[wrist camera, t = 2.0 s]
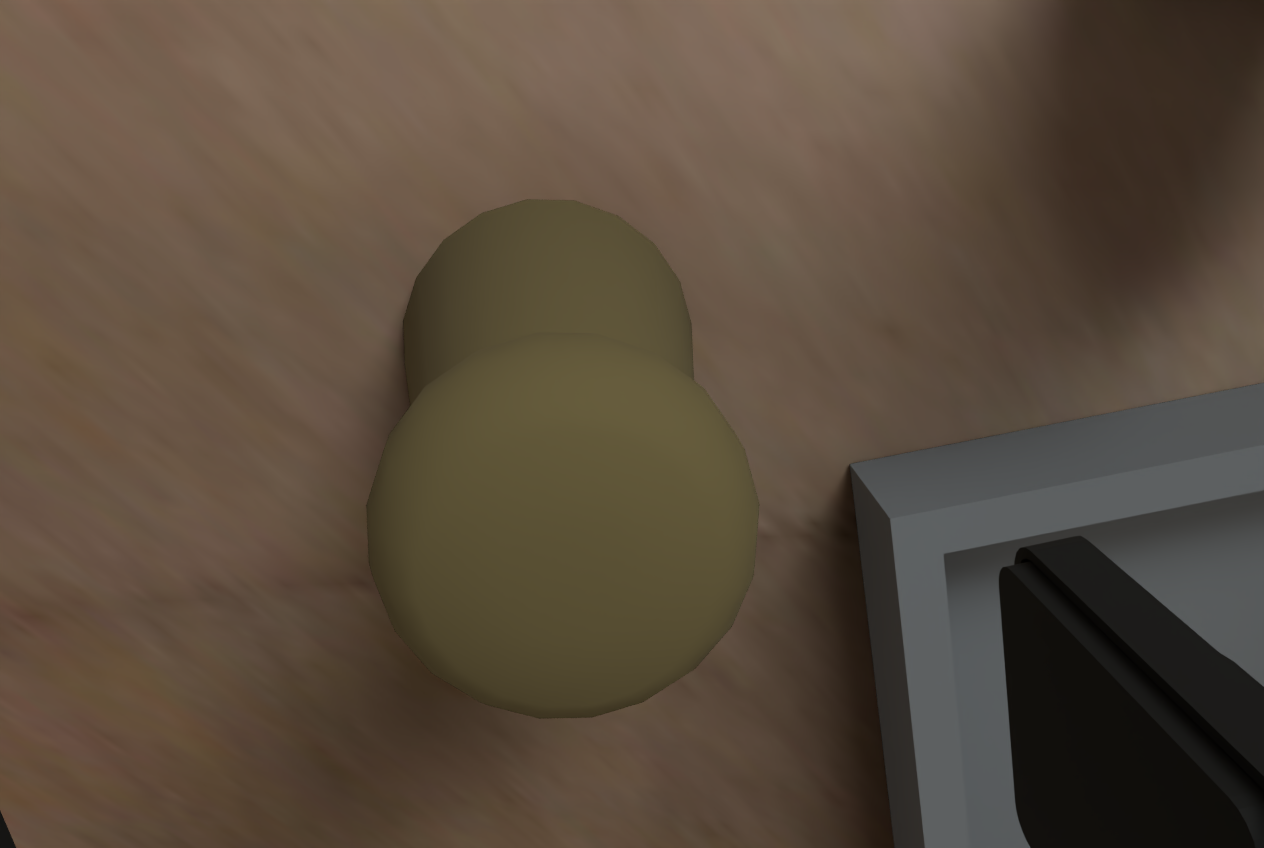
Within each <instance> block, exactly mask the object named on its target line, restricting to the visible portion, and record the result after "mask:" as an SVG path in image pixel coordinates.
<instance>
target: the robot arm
mask: <svg viewBox="0 0 1264 848" xmlns="http://www.w3.org/2000/svg"><path fill="white" fill-rule="evenodd" d="M999 595H1000V608H1001V622H1002V635H1003V648H1004V662H1005V675H1006V688H1007V701H1008V715H1009V728H1010V741H1011V755H1012V768H1013V781H1014V795H1015V805H1016V811H1017V816H1018V820H1019V823H1020V826H1021V829H1022V832H1023V834H1024V836H1025V839H1026V841H1027V842H1028V844H1029V846H1030V848H1264V687H1263V686H1262V685H1261V684H1260V683H1259V682H1258V681H1256V680H1255V679H1254V678H1253V677H1252V676H1250V675H1249V674H1248V673H1247V672H1246V671H1245V670H1243V669H1242V668H1241V667H1240V666H1239V665H1238V664H1236V663H1235V662H1234V661H1232V660H1231V659H1229V658H1227V657H1226V656H1224V655H1223V654H1221V653H1219V652H1218V651H1217V650H1216V649H1215V648H1213V647H1212V646H1211V645H1210V644H1209V643H1208V642H1206V641H1205V640H1204V639H1203V638H1202V637H1201V636H1199V635H1198V634H1197V633H1196V632H1195V631H1194V630H1192V629H1191V628H1190V627H1189V626H1188V625H1187V624H1185V623H1184V622H1183V621H1182V620H1181V619H1180V618H1178V617H1177V616H1176V615H1175V614H1174V613H1173V612H1171V611H1170V610H1169V609H1168V608H1167V607H1166V606H1164V605H1163V604H1162V603H1161V602H1160V601H1159V600H1157V599H1156V598H1155V597H1154V596H1153V595H1151V594H1150V593H1149V592H1148V591H1147V590H1146V589H1144V588H1143V587H1142V586H1141V585H1140V584H1139V583H1137V582H1136V581H1135V580H1134V579H1133V578H1132V577H1130V576H1129V575H1128V574H1127V573H1126V572H1125V571H1123V570H1122V569H1121V568H1120V567H1119V566H1118V565H1116V564H1115V563H1114V562H1113V561H1112V560H1111V559H1109V558H1108V557H1107V556H1106V555H1105V554H1104V553H1102V552H1101V551H1100V550H1099V549H1098V548H1097V547H1095V546H1094V545H1093V544H1092V543H1091V542H1090V541H1088V540H1087V539H1085V538H1084V537H1082V536H1073V537H1069V538H1064V539H1059V540H1054V541H1050V542H1045V543H1040V544H1035V545H1031V546H1026V547H1021V548H1019V550H1018V551H1017V552H1016V556H1015V560H1014V565H1011V566H1006V567H1002V569H1001V570H1000V573H999ZM0 848H16V846H15V844H14V842H13V839H12V837H11V835H10V832H9V830H8V828H7V825H6V823H5V821H4V818H3V816H2V814H1V811H0Z"/></svg>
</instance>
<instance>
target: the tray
mask: <svg viewBox="0 0 1264 848" xmlns="http://www.w3.org/2000/svg"><path fill="white" fill-rule="evenodd" d="M850 471H851V479H852V488H853V496H854V505H855V514H856V522H857V531H858V539H859V548H860V556H861V565H862V574H863V582H864V591H865V599H866V608H867V616H868V625H869V633H870V642H871V651H872V659H873V668H874V676H875V685H876V693H877V702H878V711H879V719H880V728H881V736H882V745H883V753H884V762H885V770H886V779H887V788H888V796H889V805H890V813H891V822H892V830H893V839H894V848H1030V846H1029V844H1028V842H1027V841H1026V839H1025V836H1024V834H1023V832H1022V829H1021V826H1020V823H1019V820H1018V816H1017V811H1016V805H1015V795H1014V781H1013V768H1012V755H1011V741H1010V728H1009V715H1008V701H1007V688H1006V675H1005V662H1004V648H1003V635H1002V622H1001V608H1000V595H999V573H1000V570H1001V569H1002V567H1006V566H1011V565H1014V560H1015V556H1016V552H1017V551H1018V550H1019V548H1021V547H1026V546H1031V545H1035V544H1040V543H1045V542H1050V541H1054V540H1059V539H1064V538H1069V537H1073V536H1082V537H1084V538H1085V539H1087V540H1088V541H1090V542H1091V543H1092V544H1093V545H1094V546H1095V547H1097V548H1098V549H1099V550H1100V551H1101V552H1102V553H1104V554H1105V555H1106V556H1107V557H1108V558H1109V559H1111V560H1112V561H1113V562H1114V563H1115V564H1116V565H1118V566H1119V567H1120V568H1121V569H1122V570H1123V571H1125V572H1126V573H1127V574H1128V575H1129V576H1130V577H1132V578H1133V579H1134V580H1135V581H1136V582H1137V583H1139V584H1140V585H1141V586H1142V587H1143V588H1144V589H1146V590H1147V591H1148V592H1149V593H1150V594H1151V595H1153V596H1154V597H1155V598H1156V599H1157V600H1159V601H1160V602H1161V603H1162V604H1163V605H1164V606H1166V607H1167V608H1168V609H1169V610H1170V611H1171V612H1173V613H1174V614H1175V615H1176V616H1177V617H1178V618H1180V619H1181V620H1182V621H1183V622H1184V623H1185V624H1187V625H1188V626H1189V627H1190V628H1191V629H1192V630H1194V631H1195V632H1196V633H1197V634H1198V635H1199V636H1201V637H1202V638H1203V639H1204V640H1205V641H1206V642H1208V643H1209V644H1210V645H1211V646H1212V647H1213V648H1215V649H1216V650H1217V651H1218V652H1219V653H1221V654H1223V655H1224V656H1226V657H1227V658H1229V659H1231V660H1232V661H1234V662H1235V663H1236V664H1238V665H1239V666H1240V667H1241V668H1242V669H1243V670H1245V671H1246V672H1247V673H1248V674H1249V675H1250V676H1252V677H1253V678H1254V679H1255V680H1256V681H1258V682H1259V683H1260V684H1261V685H1262V686H1263V687H1264V383H1260V384H1255V385H1250V386H1245V387H1240V388H1235V389H1230V390H1225V391H1220V392H1215V393H1210V394H1204V395H1199V396H1194V397H1189V398H1184V399H1179V400H1174V401H1169V402H1164V403H1159V404H1154V405H1148V406H1143V407H1138V408H1133V409H1128V410H1123V411H1118V412H1113V413H1108V414H1103V415H1097V416H1092V417H1087V418H1082V419H1077V420H1072V421H1067V422H1062V423H1057V424H1052V425H1047V426H1041V427H1036V428H1031V429H1026V430H1021V431H1016V432H1011V433H1006V434H1001V435H996V436H991V437H985V438H980V439H975V440H970V441H965V442H960V443H955V444H950V445H945V446H940V447H934V448H929V449H924V450H919V451H914V452H909V453H904V454H899V455H894V456H889V457H884V458H878V459H873V460H868V461H863V462H858V463H853V464H850Z"/></svg>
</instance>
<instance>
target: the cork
mask: <svg viewBox="0 0 1264 848" xmlns="http://www.w3.org/2000/svg"><path fill="white" fill-rule="evenodd" d="M403 325H404V358H405V370H406V378H407V385H408V393H409V400H410V407H409V409H408V410H407V411H406V413H405V414H404V415H403V417H402V418H401V419H400V421H399V422H398V423H397V425H396V426H395V427H394V429H393V430H392V431H391V433H390V434H389V437H388V440H387V442H386V445H385V448H384V451H383V454H382V457H381V460H380V464H379V467H378V470H377V473H376V476H375V480H374V483H373V486H372V489H371V492H370V495H369V499H368V502H367V505H366V509H367V531H368V554H369V565H370V568H371V572H372V575H373V579H374V581H375V584H376V586H377V589H378V591H379V594H380V596H381V598H382V601H383V603H384V606H385V608H386V611H387V613H388V616H389V618H390V620H391V623H392V625H393V628H394V630H395V632H396V633H397V634H398V635H399V636H400V638H401V639H402V640H403V641H404V642H405V643H406V644H407V646H408V647H409V648H410V649H411V650H412V651H413V652H414V654H415V655H416V656H417V657H418V658H419V659H420V660H421V661H422V663H423V664H424V665H425V666H426V667H427V668H428V669H429V671H430V672H431V673H432V674H434V675H436V676H437V677H439V678H441V679H442V680H444V681H446V682H447V683H449V684H451V685H452V686H454V687H456V688H457V689H459V690H461V691H462V692H464V693H466V694H467V695H469V696H471V697H472V698H474V699H476V700H477V701H479V702H481V703H484V704H486V705H489V706H493V707H497V708H501V709H505V710H508V711H512V712H516V713H520V714H524V715H528V716H532V717H535V718H539V719H540V718H586V717H595V716H598V715H602V714H605V713H608V712H612V711H615V710H618V709H622V708H625V707H628V706H632V705H635V704H638V703H642V702H644V701H645V700H647V699H648V698H650V697H652V696H653V695H655V694H656V693H658V692H659V691H661V690H663V689H664V688H666V687H667V686H669V685H670V684H672V683H674V682H675V681H677V680H678V679H680V678H681V677H683V676H685V675H686V674H688V673H689V672H691V671H692V670H694V669H695V668H696V667H697V666H698V665H699V664H700V663H701V661H702V660H703V659H704V658H705V657H706V656H707V655H708V653H709V652H710V651H711V650H712V649H713V648H714V646H715V645H716V644H717V643H718V642H719V641H720V640H721V638H722V637H723V636H724V635H725V634H726V633H727V631H728V630H729V629H730V628H731V627H732V625H733V623H734V620H735V618H736V616H737V613H738V611H739V609H740V606H741V604H742V602H743V599H744V597H745V595H746V592H747V590H748V588H749V585H750V583H751V581H752V578H753V575H754V566H755V555H756V541H757V528H758V515H759V501H758V497H757V493H756V490H755V486H754V482H753V479H752V475H751V471H750V468H749V464H748V460H747V457H746V453H745V449H744V448H743V446H742V444H741V442H740V441H739V439H738V437H737V435H736V434H735V432H734V431H733V429H732V428H731V427H730V425H729V424H728V422H727V421H726V419H725V418H724V416H723V415H722V414H721V412H720V411H719V409H718V408H717V406H716V405H715V403H714V402H713V401H712V399H711V398H710V396H709V395H708V393H707V392H706V390H705V389H704V388H703V387H702V386H700V385H699V384H698V383H696V382H695V381H694V372H693V349H692V325H691V320H690V317H689V313H688V309H687V306H686V302H685V299H684V295H683V291H682V288H681V284H680V281H679V279H678V278H677V276H676V275H675V273H674V272H673V271H672V269H671V268H670V266H669V265H668V263H667V262H666V260H665V259H664V257H663V256H662V254H661V253H660V251H659V250H658V248H657V247H656V245H655V244H654V243H653V242H651V241H650V240H649V239H647V238H646V237H645V236H644V235H642V234H641V233H640V232H638V231H637V230H636V229H634V228H633V227H632V226H631V225H629V224H628V223H627V222H625V221H624V220H623V219H621V218H620V217H619V216H617V215H614V214H611V213H608V212H605V211H603V210H600V209H597V208H594V207H591V206H588V205H585V204H583V203H580V202H577V201H574V200H524V201H520V202H517V203H514V204H510V205H507V206H504V207H501V208H497V209H494V210H491V211H487V212H484V213H481V214H480V215H478V216H477V217H476V218H474V219H473V220H471V221H470V222H469V223H467V224H466V225H464V226H463V227H462V228H460V229H459V230H457V231H456V232H454V233H453V234H452V235H450V236H449V237H447V238H446V239H445V240H443V242H442V243H441V244H440V246H439V247H438V249H437V250H436V251H435V253H434V254H433V255H432V257H431V258H430V260H429V261H428V262H427V264H426V265H425V266H424V268H423V269H422V271H421V272H420V273H419V275H418V276H417V278H416V281H415V284H414V287H413V291H412V294H411V297H410V300H409V304H408V307H407V310H406V313H405V317H404V320H403Z"/></svg>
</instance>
